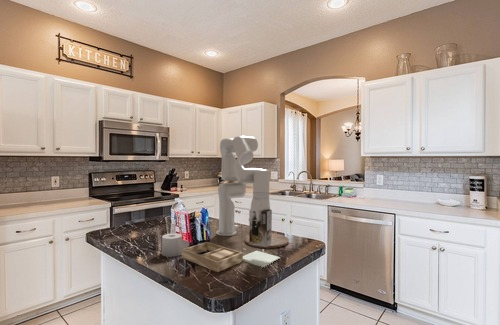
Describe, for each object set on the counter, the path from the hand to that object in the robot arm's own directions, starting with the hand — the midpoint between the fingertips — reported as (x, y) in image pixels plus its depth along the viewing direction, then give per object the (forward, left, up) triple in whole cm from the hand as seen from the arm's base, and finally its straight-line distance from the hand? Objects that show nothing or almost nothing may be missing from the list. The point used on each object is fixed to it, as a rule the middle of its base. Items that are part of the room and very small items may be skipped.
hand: (260, 233), depth 126 cm
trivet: (-25, -14, -13) cm, 31 cm away
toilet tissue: (+21, -36, -13) cm, 44 cm away
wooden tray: (+15, -17, -12) cm, 25 cm away
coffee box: (0, 0, -5) cm, 5 cm away
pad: (0, 0, -12) cm, 12 cm away
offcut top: (+15, -10, -10) cm, 21 cm away
